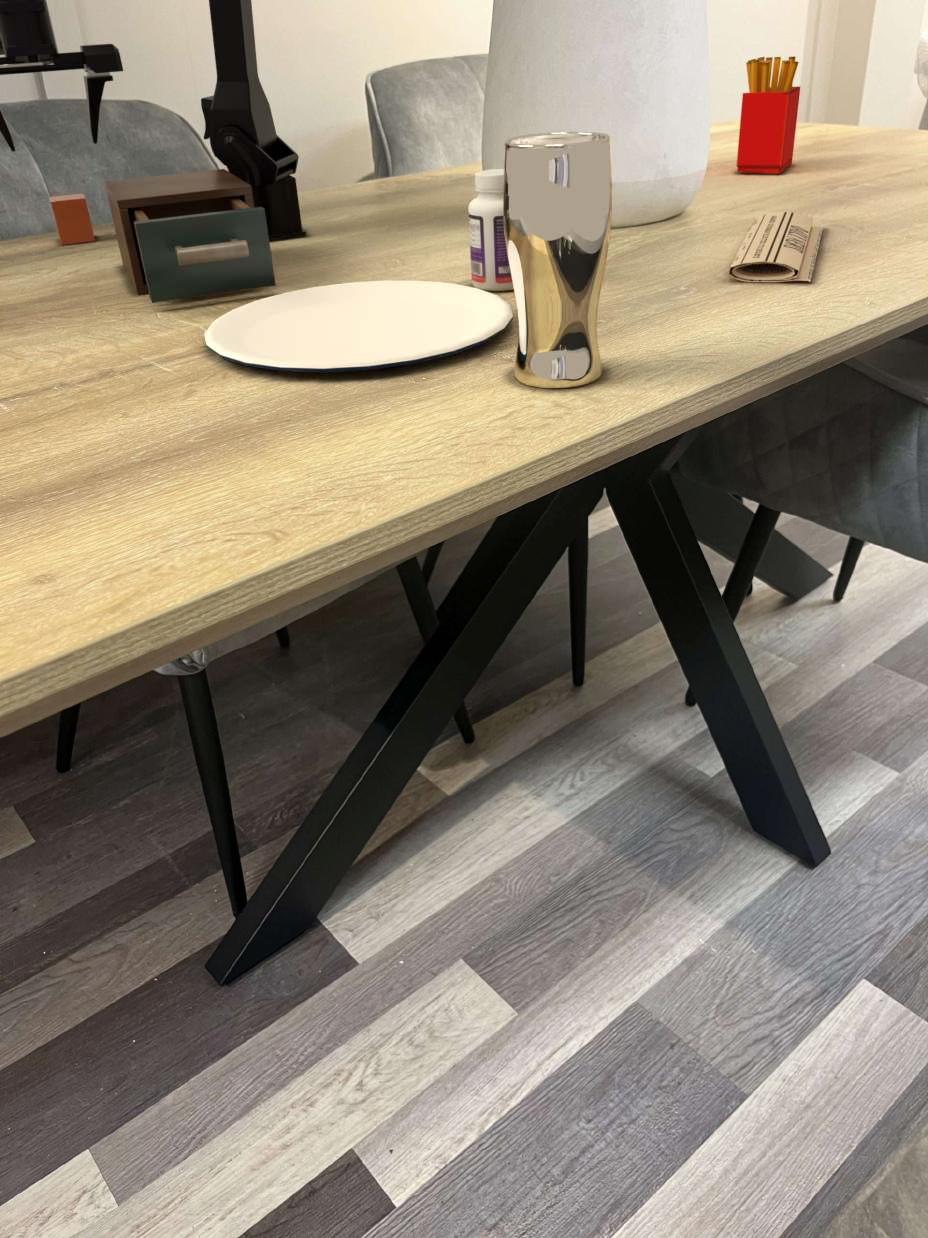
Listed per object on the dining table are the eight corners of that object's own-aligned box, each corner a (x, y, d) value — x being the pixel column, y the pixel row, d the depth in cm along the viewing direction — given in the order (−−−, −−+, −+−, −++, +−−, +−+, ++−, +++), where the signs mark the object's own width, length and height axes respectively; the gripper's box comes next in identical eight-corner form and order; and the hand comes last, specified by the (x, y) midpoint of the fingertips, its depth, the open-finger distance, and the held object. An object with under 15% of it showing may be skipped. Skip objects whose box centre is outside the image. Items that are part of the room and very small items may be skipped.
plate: (181, 320, 87) (178, 306, 86) (444, 279, 95) (443, 266, 94) (243, 405, 67) (240, 387, 67) (568, 344, 75) (568, 328, 74)
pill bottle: (536, 278, 93) (535, 166, 88) (520, 293, 89) (518, 175, 84) (482, 277, 95) (477, 166, 90) (463, 291, 91) (458, 176, 86)
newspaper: (754, 228, 108) (755, 211, 107) (822, 229, 105) (825, 211, 104) (727, 281, 89) (729, 260, 88) (810, 283, 87) (813, 262, 86)
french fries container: (731, 174, 140) (741, 60, 132) (745, 164, 147) (754, 56, 139) (782, 174, 137) (795, 58, 130) (794, 164, 144) (806, 54, 137)
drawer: (286, 295, 89) (274, 214, 86) (157, 313, 86) (140, 231, 83) (247, 259, 104) (236, 189, 100) (136, 273, 100) (120, 202, 97)
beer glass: (502, 363, 72) (495, 135, 64) (597, 355, 72) (601, 128, 65) (514, 394, 66) (508, 148, 58) (617, 386, 66) (624, 140, 59)
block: (93, 235, 125) (83, 193, 122) (95, 241, 122) (85, 197, 119) (60, 239, 124) (49, 196, 121) (61, 245, 121) (50, 201, 118)
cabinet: (265, 276, 100) (251, 185, 96) (137, 294, 96) (116, 200, 92) (238, 251, 112) (224, 168, 107) (123, 266, 108) (104, 181, 104)
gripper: (98, -11, 118) (129, 133, 126) (-71, -3, 113) (-28, 148, 121) (106, -15, 109) (138, 141, 117) (-78, -6, 104) (-31, 157, 112)
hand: (55, 146), depth 117 cm, fingers open, 9 cm apart
